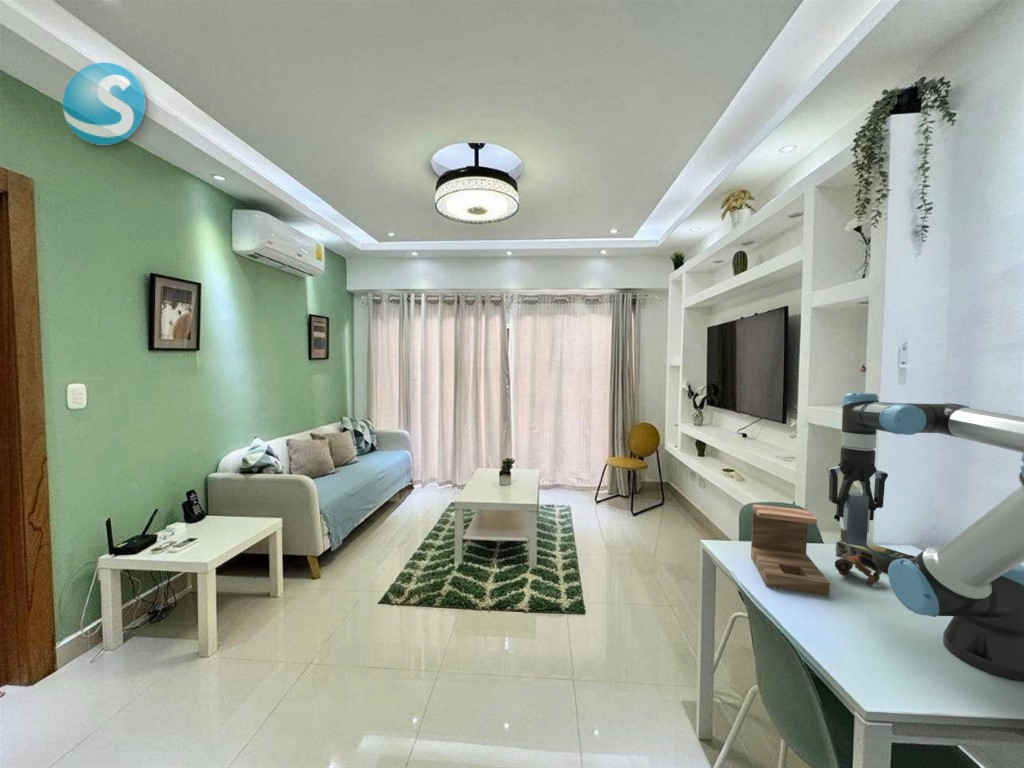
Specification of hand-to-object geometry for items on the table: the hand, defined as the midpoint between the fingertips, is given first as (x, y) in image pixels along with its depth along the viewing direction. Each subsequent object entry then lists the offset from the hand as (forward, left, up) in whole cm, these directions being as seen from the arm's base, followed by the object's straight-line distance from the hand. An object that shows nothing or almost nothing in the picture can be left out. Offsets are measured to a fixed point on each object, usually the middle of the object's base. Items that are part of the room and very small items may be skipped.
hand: (854, 529), depth 118 cm
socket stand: (+10, +13, -20) cm, 26 cm away
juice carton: (+30, -17, -21) cm, 41 cm away
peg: (0, 0, -4) cm, 4 cm away
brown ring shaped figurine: (+16, -7, -21) cm, 27 cm away
